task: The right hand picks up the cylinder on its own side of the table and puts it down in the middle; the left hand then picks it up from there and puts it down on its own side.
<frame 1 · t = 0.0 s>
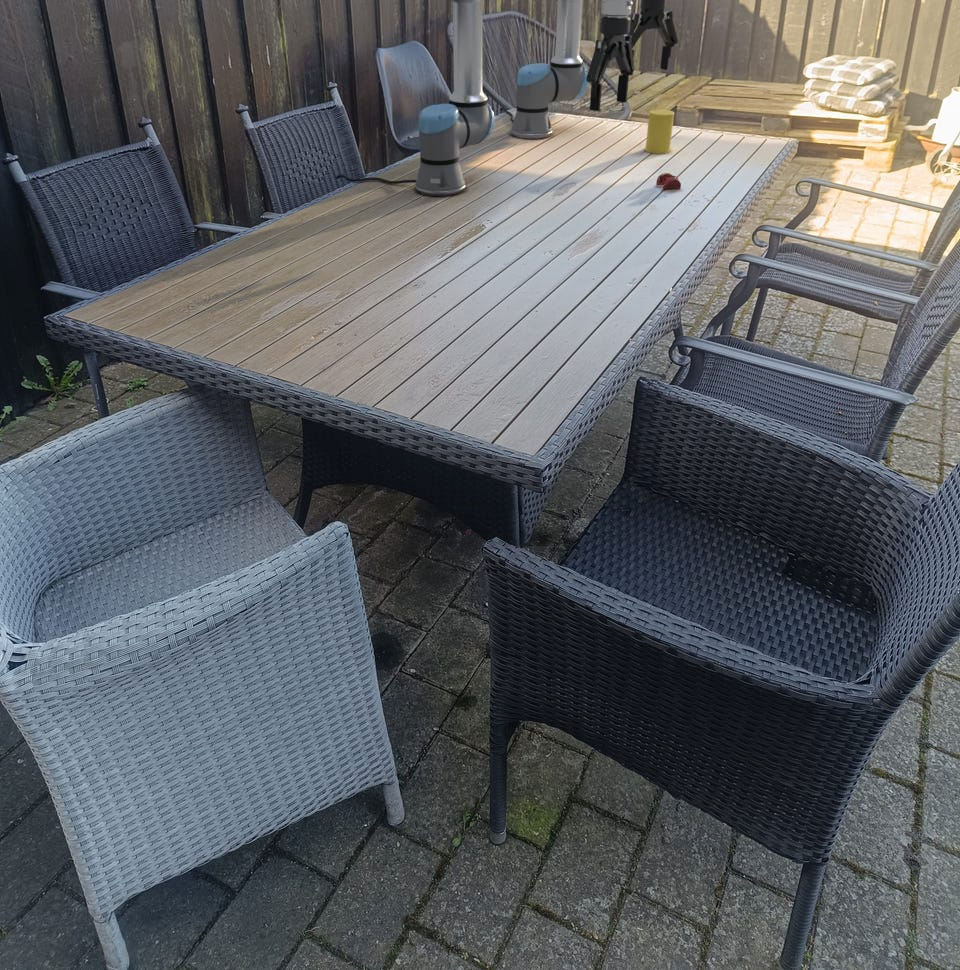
left hand: (608, 106, 226), 28 cm above the table, tool pointing down, fingers open, 13 cm apart
right hand: (646, 71, 268), 28 cm above the table, tool pointing down, fingers open, 13 cm apart
cylinder: (657, 150, 296), on the table
dental model: (668, 188, 260), on the table
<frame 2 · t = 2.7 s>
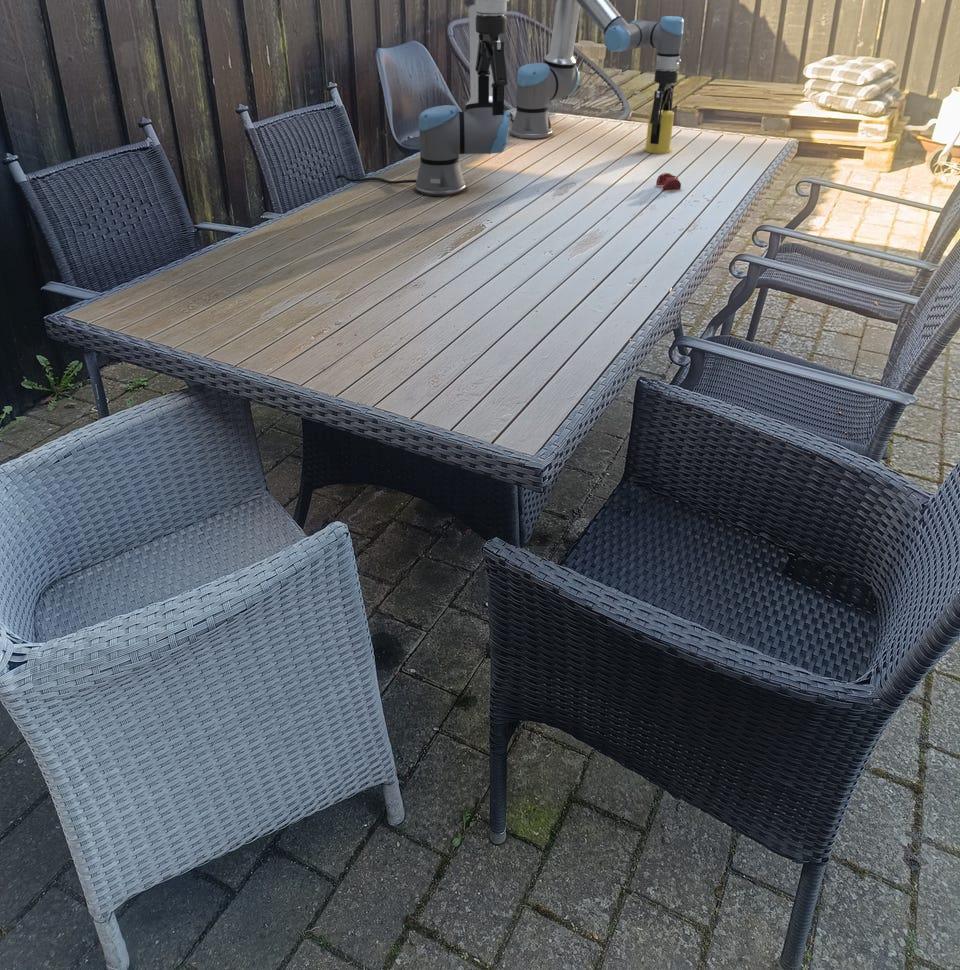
left hand: (490, 109, 214), 30 cm above the table, tool pointing down, fingers open, 13 cm apart
right hand: (658, 140, 294), 3 cm above the table, tool pointing down, fingers closed on cylinder, 8 cm apart
cylinder: (657, 150, 296), on the table, touching right hand
everything else where it was.
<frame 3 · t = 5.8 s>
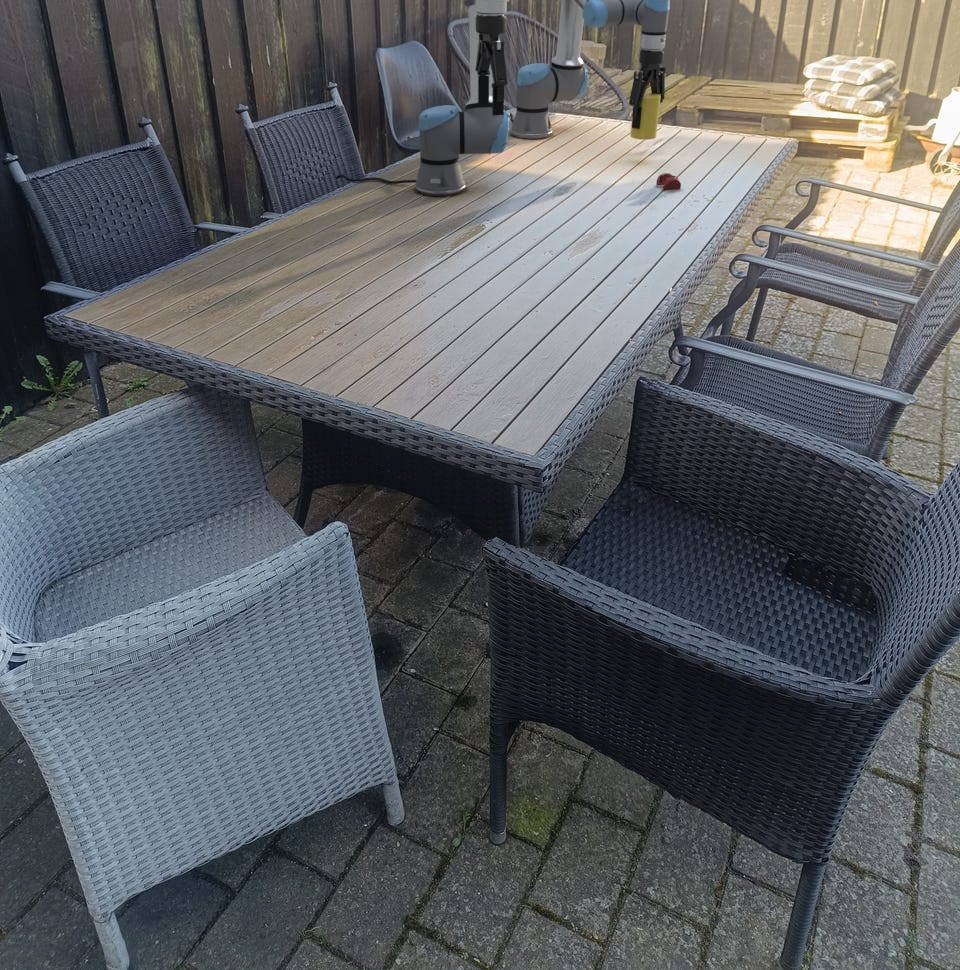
left hand: (490, 109, 214), 30 cm above the table, tool pointing down, fingers open, 13 cm apart
right hand: (644, 125, 277), 12 cm above the table, tool pointing down, fingers closed on cylinder, 8 cm apart
cylinder: (643, 136, 279), point 8 cm above the table, touching right hand
everything else where it was.
when the right hand's fingers open (4 cm above the table, at t = 9.0 s): cylinder drops 1 cm, on the table.
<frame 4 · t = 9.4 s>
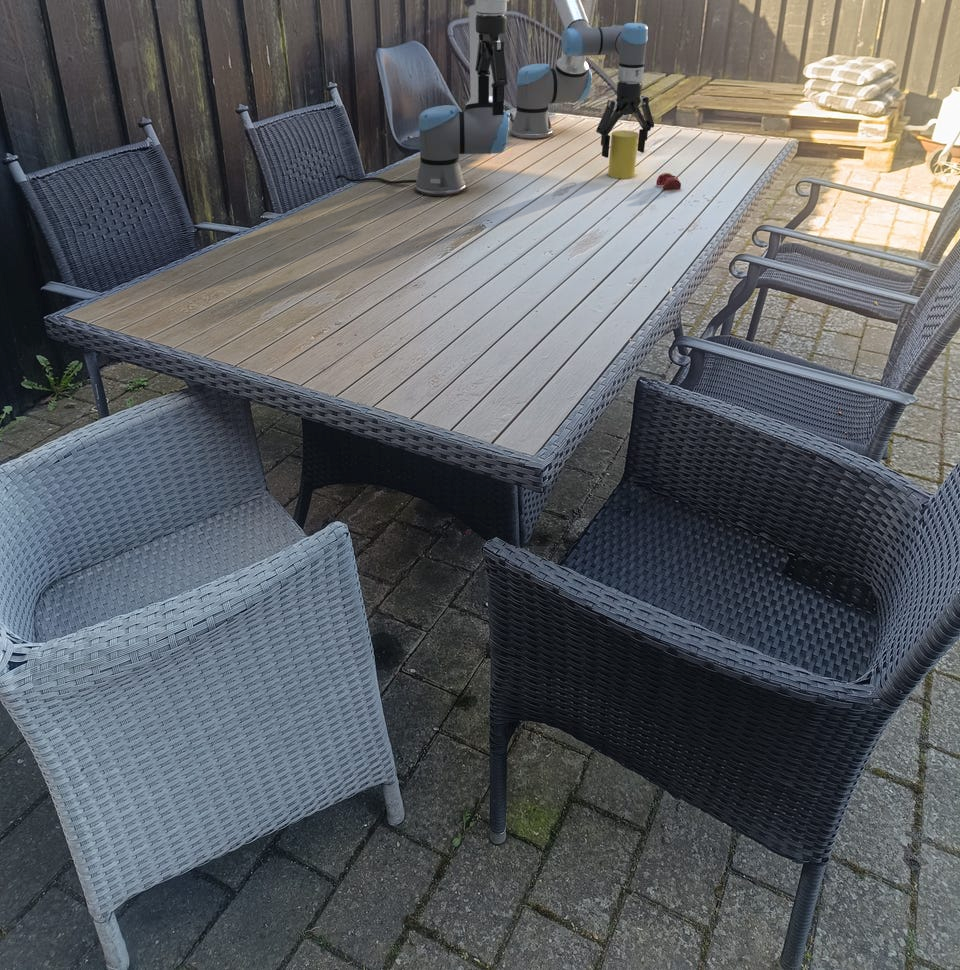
left hand: (490, 109, 214), 30 cm above the table, tool pointing down, fingers open, 13 cm apart
right hand: (622, 154, 268), 6 cm above the table, tool pointing down, fingers open, 13 cm apart
cylinder: (621, 174, 272), on the table
everything else where it was.
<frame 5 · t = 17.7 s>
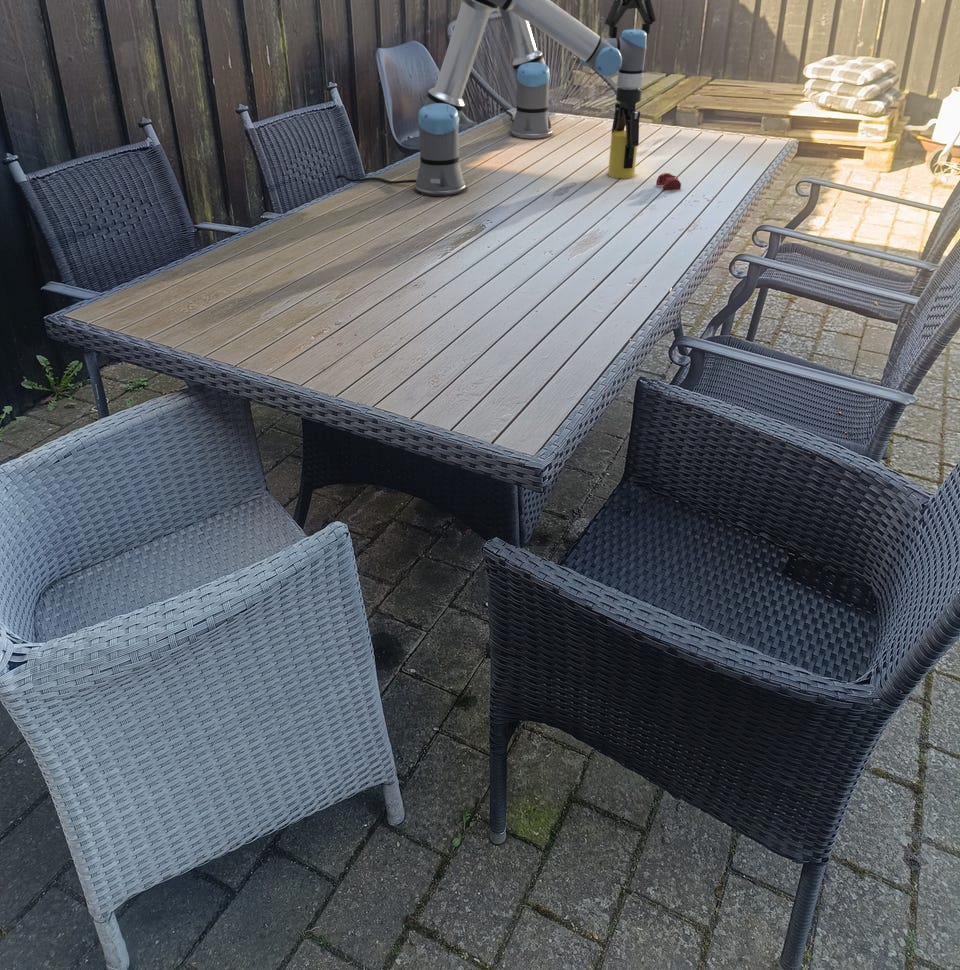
left hand: (622, 164, 270), 3 cm above the table, tool pointing down, fingers closed on cylinder, 8 cm apart
right hand: (628, 45, 308), 28 cm above the table, tool pointing down, fingers open, 13 cm apart
cylinder: (621, 174, 272), on the table, touching left hand
everything else where it was.
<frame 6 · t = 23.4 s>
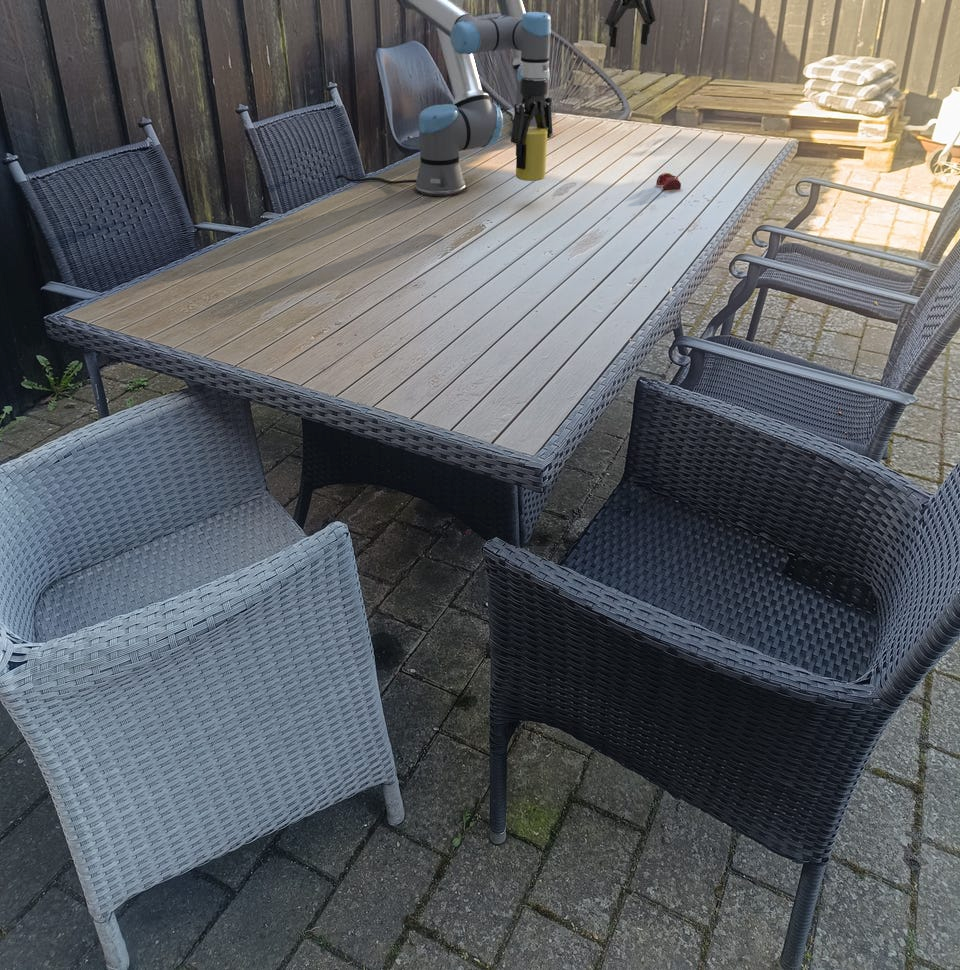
left hand: (530, 164, 240), 11 cm above the table, tool pointing down, fingers closed on cylinder, 8 cm apart
right hand: (628, 45, 308), 28 cm above the table, tool pointing down, fingers open, 13 cm apart
cylinder: (530, 176, 242), point 8 cm above the table, touching left hand
everything else where it was.
when the left hand's fingers open (4 cm above the table, at t = 28.9 s): cylinder drops 1 cm, on the table.
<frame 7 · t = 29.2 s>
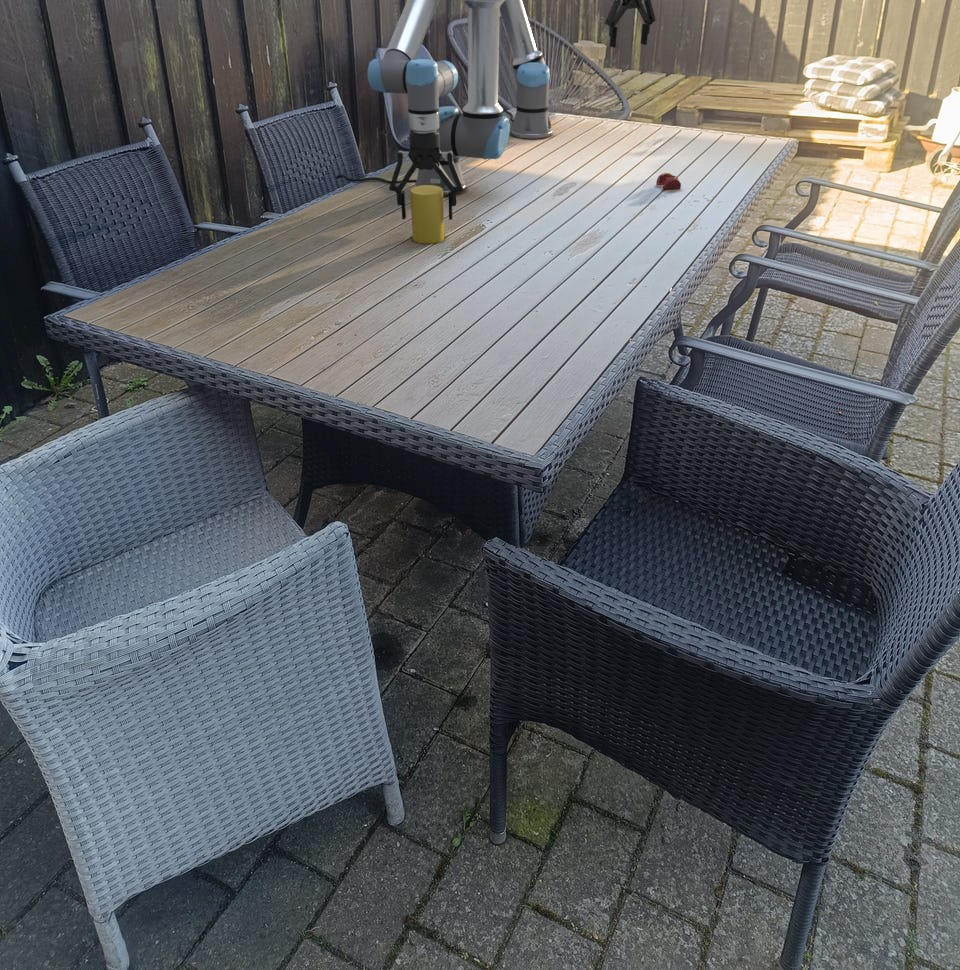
left hand: (427, 217, 220), 5 cm above the table, tool pointing down, fingers open, 11 cm apart
right hand: (628, 45, 308), 28 cm above the table, tool pointing down, fingers open, 13 cm apart
cylinder: (428, 238, 223), on the table
everything else where it was.
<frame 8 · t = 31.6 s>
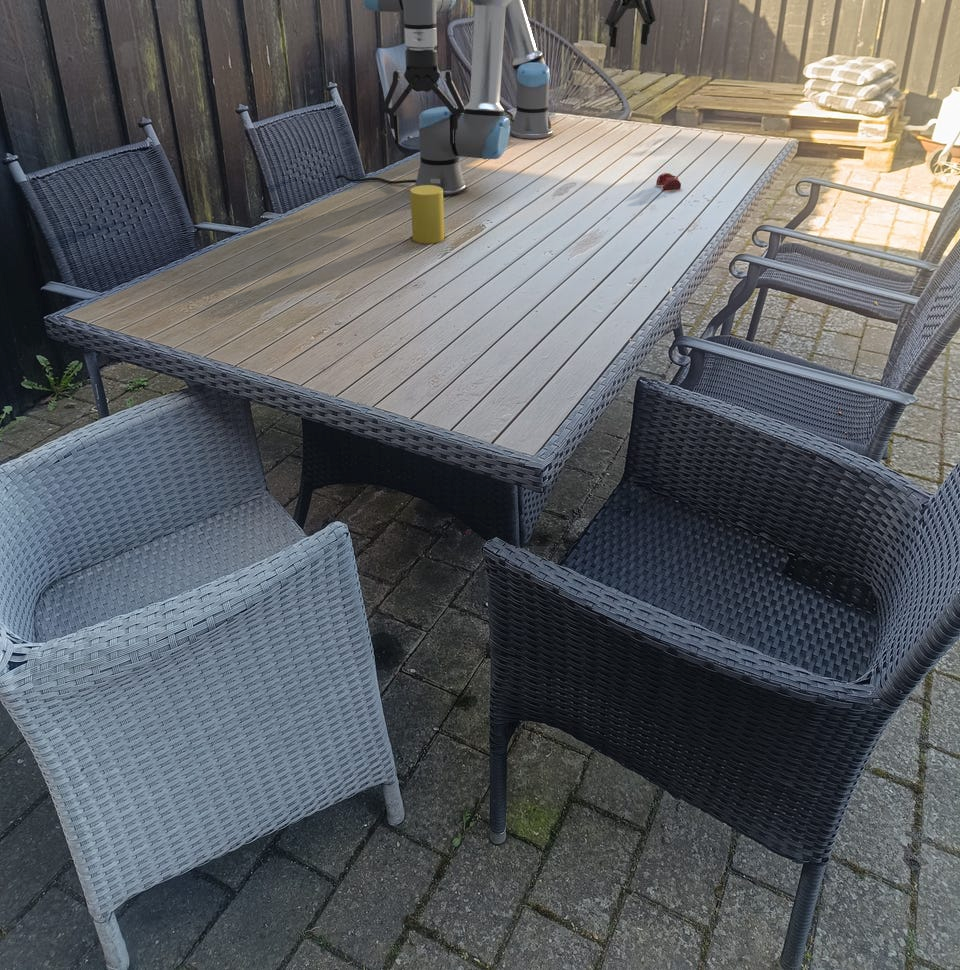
left hand: (424, 143, 209), 24 cm above the table, tool pointing down, fingers open, 13 cm apart
right hand: (628, 45, 308), 28 cm above the table, tool pointing down, fingers open, 13 cm apart
nothing on the table moved.
at the end: cylinder inside the target area (0.0 cm from its centre), on the table; cylinder tilted 0°; the two hands never held the cylinder at the same time; the left hand is holding nothing; the right hand is holding nothing; cylinder at rest at the end (0.0 cm/s) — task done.
